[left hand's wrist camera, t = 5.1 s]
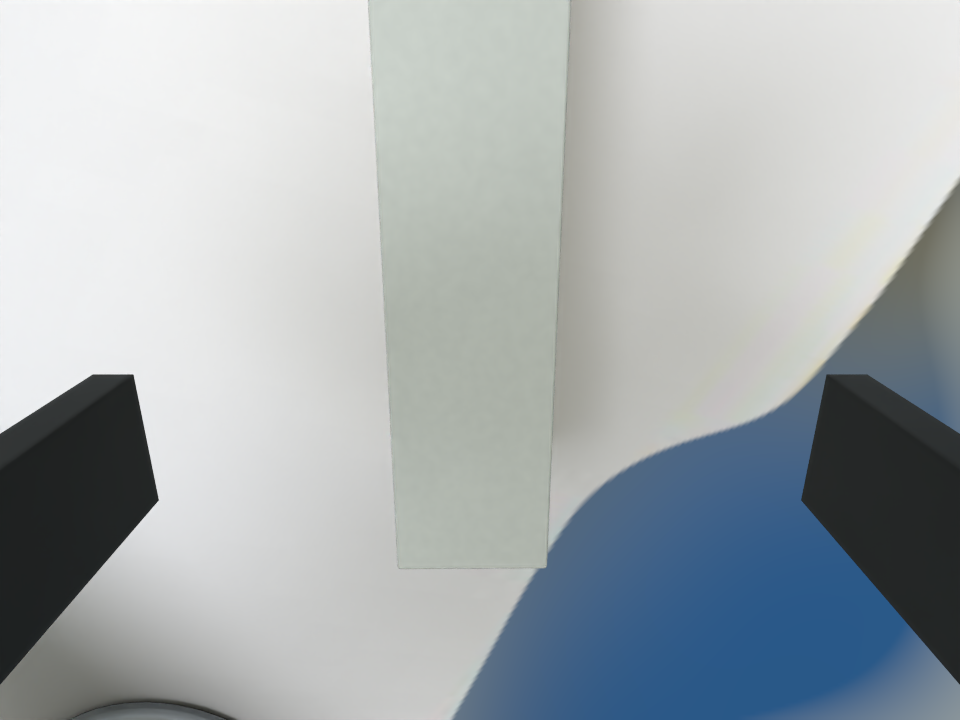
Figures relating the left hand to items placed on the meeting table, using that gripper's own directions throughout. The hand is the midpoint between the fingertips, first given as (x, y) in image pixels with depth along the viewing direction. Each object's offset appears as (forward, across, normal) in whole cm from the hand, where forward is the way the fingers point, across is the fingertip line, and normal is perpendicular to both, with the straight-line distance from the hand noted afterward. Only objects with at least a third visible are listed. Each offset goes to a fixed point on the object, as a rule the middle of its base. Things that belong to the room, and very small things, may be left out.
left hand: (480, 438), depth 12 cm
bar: (+15, 0, -23) cm, 28 cm away
